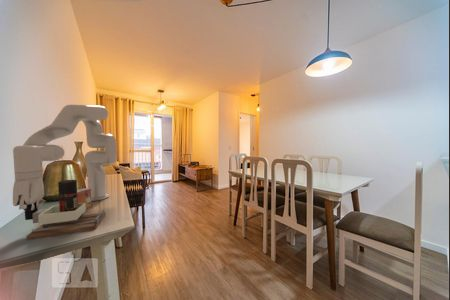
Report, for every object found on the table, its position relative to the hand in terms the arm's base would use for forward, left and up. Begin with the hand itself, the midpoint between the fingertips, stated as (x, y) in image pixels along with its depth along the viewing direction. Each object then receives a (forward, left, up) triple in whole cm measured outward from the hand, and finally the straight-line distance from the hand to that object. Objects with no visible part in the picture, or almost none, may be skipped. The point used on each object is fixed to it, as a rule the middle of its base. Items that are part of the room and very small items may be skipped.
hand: (31, 218), depth 70 cm
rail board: (0, +13, -6) cm, 14 cm away
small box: (-22, +9, -6) cm, 24 cm away
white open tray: (0, +9, -3) cm, 10 cm away
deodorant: (0, +12, 0) cm, 12 cm away
